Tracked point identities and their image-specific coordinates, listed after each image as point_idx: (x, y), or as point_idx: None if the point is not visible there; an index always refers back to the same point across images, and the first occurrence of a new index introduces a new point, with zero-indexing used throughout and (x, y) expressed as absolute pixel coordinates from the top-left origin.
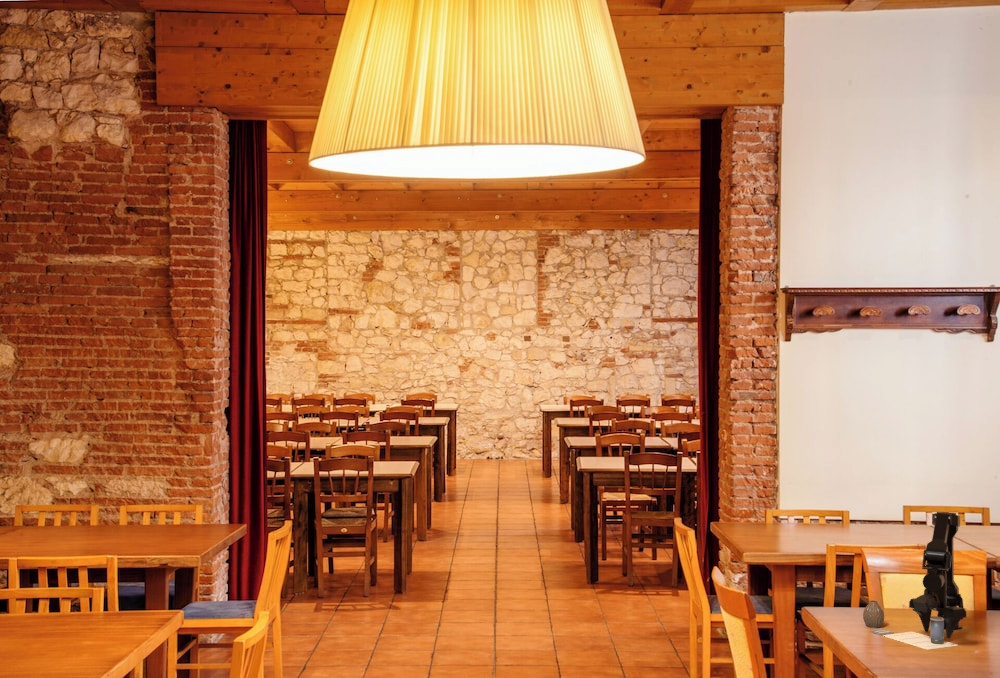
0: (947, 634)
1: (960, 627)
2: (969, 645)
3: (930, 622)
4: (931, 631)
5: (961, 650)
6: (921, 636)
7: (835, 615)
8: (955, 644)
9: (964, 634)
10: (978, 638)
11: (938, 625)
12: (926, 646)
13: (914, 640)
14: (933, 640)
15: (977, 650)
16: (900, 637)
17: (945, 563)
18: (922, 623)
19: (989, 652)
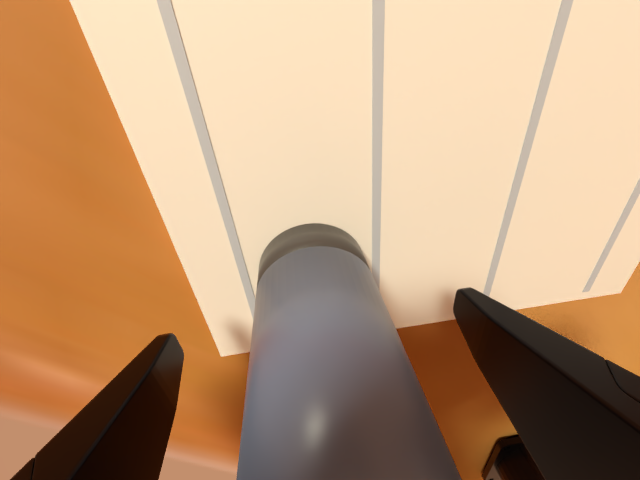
0: (130, 367)
1: (486, 477)
2: (223, 402)
3: (414, 412)
4: (339, 294)
5: (77, 310)
6: (507, 272)
7: None
8: (233, 349)
9: None
10: None
11: (245, 430)
12: (194, 61)
13: (459, 125)
14: (298, 240)
15: (88, 389)
16: (624, 59)
17: None
18: (560, 340)
19: (36, 418)
